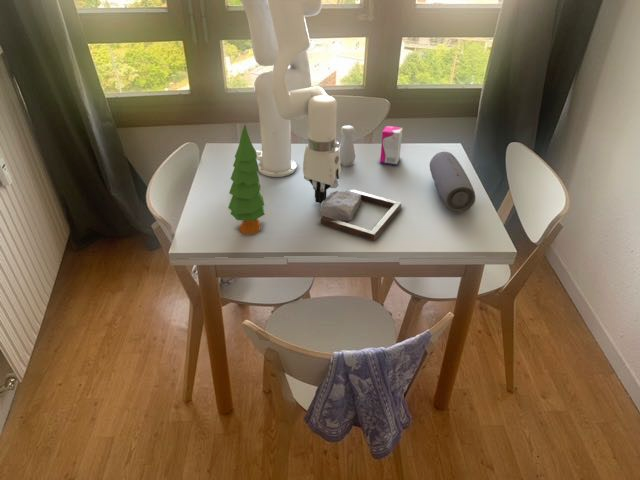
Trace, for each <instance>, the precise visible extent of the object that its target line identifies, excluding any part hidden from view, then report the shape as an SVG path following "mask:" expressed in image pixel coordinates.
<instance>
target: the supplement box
mask: <svg viewBox="0 0 640 480" xmlns="http://www.w3.org/2000/svg"><path fill="white" fill-rule="evenodd" d="M403 130H404V129H403V127H399V126H391V125H385V127H384V129H383V130H382V135H381V145H380V146H381V147H380V160H379V163H380V164H381V165H388V166H397V165H398V164H399V161H400V159H401V150H402V149H401V148H402V139H403Z"/></svg>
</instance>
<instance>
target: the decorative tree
mask: <svg viewBox="0 0 640 480" xmlns="http://www.w3.org/2000/svg"><path fill="white" fill-rule="evenodd" d="M256 151H257V150H256V149H255V147H254V145H253V144H252V141H251V139H250V136H249V133H248V129H247V125H246V124H243V128H242V131H241V133H240V139H239V144H238V147H237V149H236V152H235V155H234V161H233V164H232V167H233V170H232V174H231V176H230V180H231V181H232V184H231V187H230V189H229V192H228V194H230V195H231V199H230V202H229V204H228V206H227V209H229V211H230V215H231V216H232V217H233V218H234V219H235V220H237V221H242V223H241V224H240V225H239V227H238V228H237V229H238V230H239V232H241V233H242V234H243V235H244V236H245V235H254V234H257V233H259V232H261V228H262V223H261V222H260V220H259V219H260V218H261V217H263V216H265V215H266V214H265V199H264V196H263V194H262V193H261V192H260V191H261V189H262V185H261V183H260V177H259V173H258V172H259V168H258V165H259V163H258V160H256V157H257V154H256Z"/></svg>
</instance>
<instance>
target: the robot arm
mask: <svg viewBox="0 0 640 480" xmlns="http://www.w3.org/2000/svg"><path fill="white" fill-rule="evenodd" d="M240 2H241V5H242V7H243V10H244V12H245V16H246V18H247V23H248V29H249V34H250V42H251V47H252V52H253V56H254V59H255V62H256V64H257V65H259V66H261V67H272V70H269V71H265V72H262V73H259V74H258V76H256V78H255V79H254V81H253V89H254V94H255V98H256V102H257V107H258V108H257V109H258V116H259V117H258V118H259V129H260V144H261V145H260V146H261V150H255V151H256V154H257V157H256V160H257V161H259V163H258V168H259V170H258V172H259V173H260V174H262V175H263V176H266V177H271V178H281V177H287V176H290V175H292V174H293V173H295V172H296V170H297V163H296V162H295V161H294V160H292V133H291V132H292V131H291V129H292V128H291V127H292V126H291V121H295V120H300V119H304V118H307V143H306V145H305V150H304V154H303V162H302V173H303V180H306V181H308V182H309V183H310V184H311V185H312V189H313V190H314V199H315V203H318V204H320V205H322V203H323V202H324V200H325V199H326V197H327V190H329V189H337V188H338V187H339V181H338V180H340V179H341V175H342V174H341V173H342V171H341V168H342V167H341V166H342V165H341V164H340V155H339V150H340V146H341V142H340V143H339V142H338V141H337V123H338V122H337V118H338V102H337V100H336V98H334V97H333V96H330V95H328V94H327V92H326V91H325V90H324V89H323V87H321V86H316V85H315V86H312V78H311V69H310V62H309V54H308V50H309V48H310V47H311V39H310V35H309V31H308V26H307V25H308V24H307V22H306V17H314V16H317V15H318V14H319V13H321V11H322V6H323V0H240Z"/></svg>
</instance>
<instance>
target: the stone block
mask: <svg viewBox="0 0 640 480" xmlns="http://www.w3.org/2000/svg"><path fill="white" fill-rule="evenodd" d="M361 202H362V200H361V194H357V193H353V192H350V190H344V189H343V190H335V191H331V192H330V193H329V195H326V199H325V200H324V201H323V202H322V203H321V206H320V212H321V215H322V217H323V216H325V217H328V218H332V219H335V220H338V221H342V222H351V221H352V219H353V217H354V216H355V214H356V212H357V211H358V209H359V206H360V205H361Z"/></svg>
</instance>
